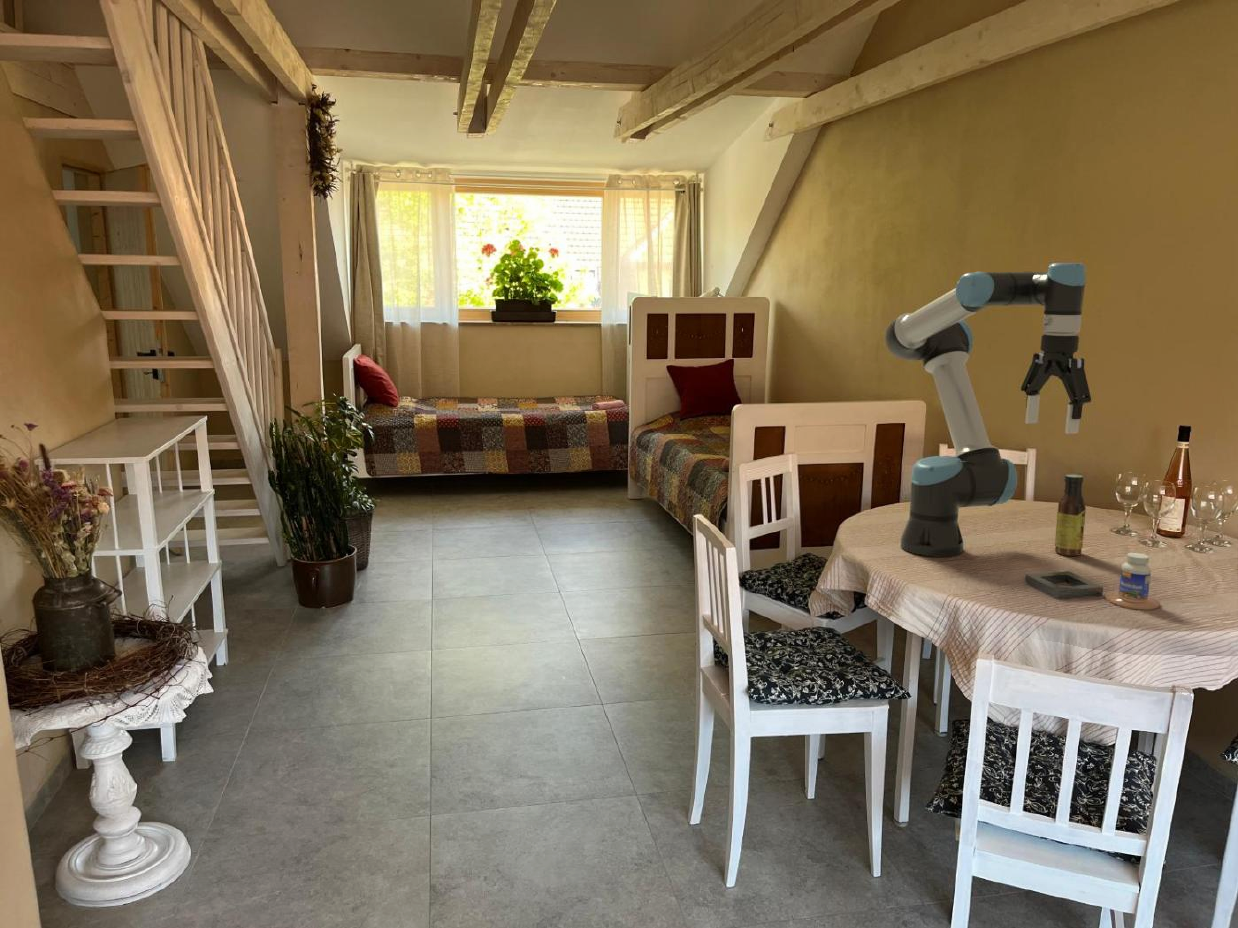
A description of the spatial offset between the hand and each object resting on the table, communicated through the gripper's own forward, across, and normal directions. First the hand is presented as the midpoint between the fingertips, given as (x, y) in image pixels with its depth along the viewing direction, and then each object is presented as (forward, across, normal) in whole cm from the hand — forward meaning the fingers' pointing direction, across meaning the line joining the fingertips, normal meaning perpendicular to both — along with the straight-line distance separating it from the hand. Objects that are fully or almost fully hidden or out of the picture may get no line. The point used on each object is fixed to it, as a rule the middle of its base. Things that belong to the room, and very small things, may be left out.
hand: (1050, 428), depth 201 cm
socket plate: (+34, +12, -2) cm, 36 cm away
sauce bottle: (+35, -11, +17) cm, 40 cm away
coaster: (+34, +22, +7) cm, 41 cm away
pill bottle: (+34, +22, +7) cm, 41 cm away
